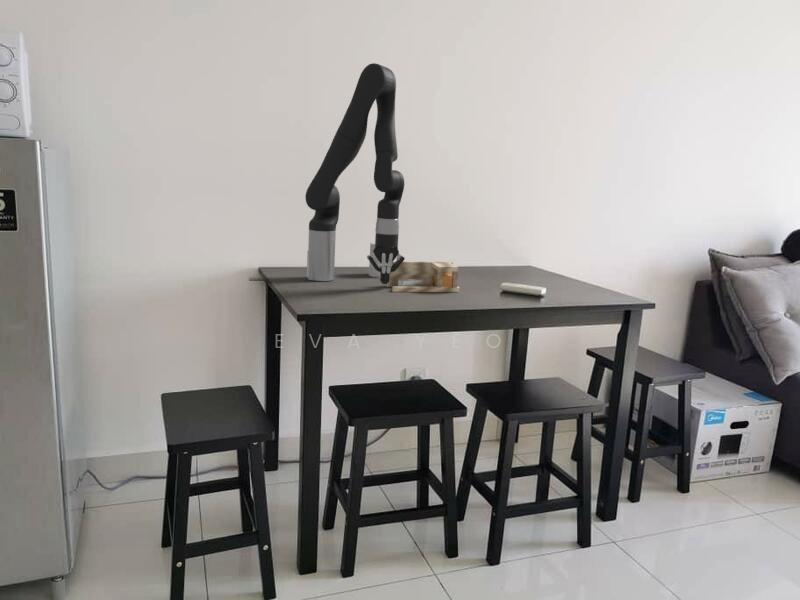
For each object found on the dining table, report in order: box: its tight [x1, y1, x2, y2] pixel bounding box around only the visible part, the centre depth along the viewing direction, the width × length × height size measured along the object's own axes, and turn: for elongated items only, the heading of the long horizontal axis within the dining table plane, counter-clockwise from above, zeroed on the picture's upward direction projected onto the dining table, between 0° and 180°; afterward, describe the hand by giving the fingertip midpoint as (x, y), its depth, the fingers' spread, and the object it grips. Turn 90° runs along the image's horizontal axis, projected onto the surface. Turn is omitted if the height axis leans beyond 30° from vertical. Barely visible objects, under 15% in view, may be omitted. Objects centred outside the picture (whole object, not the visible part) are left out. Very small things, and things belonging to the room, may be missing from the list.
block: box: [433, 274, 452, 287], centre depth 214 cm, size 5×5×5 cm
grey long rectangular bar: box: [398, 278, 433, 287], centre depth 212 cm, size 12×3×4 cm, turn 121°
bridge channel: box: [385, 260, 461, 293], centre depth 212 cm, size 23×10×8 cm, turn 105°
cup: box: [368, 241, 386, 279], centre depth 232 cm, size 8×8×12 cm
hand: (384, 283), depth 209 cm, fingers closed
